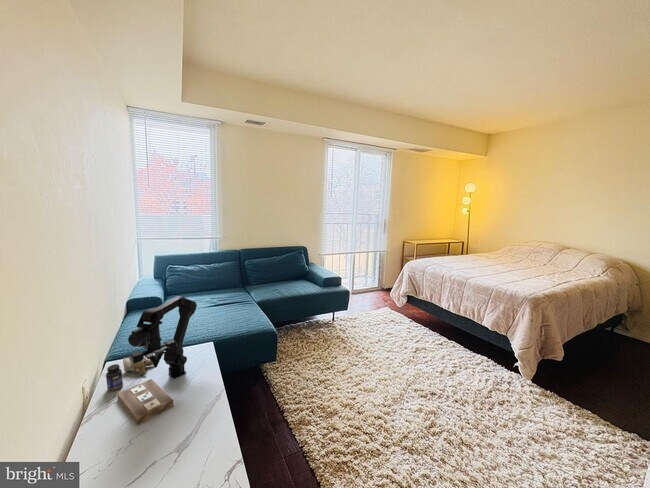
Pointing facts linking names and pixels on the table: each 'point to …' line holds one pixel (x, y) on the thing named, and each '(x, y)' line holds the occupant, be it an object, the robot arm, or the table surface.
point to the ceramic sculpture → (136, 365)
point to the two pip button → (137, 389)
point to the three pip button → (144, 396)
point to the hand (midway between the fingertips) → (155, 367)
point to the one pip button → (151, 404)
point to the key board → (138, 409)
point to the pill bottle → (114, 378)
